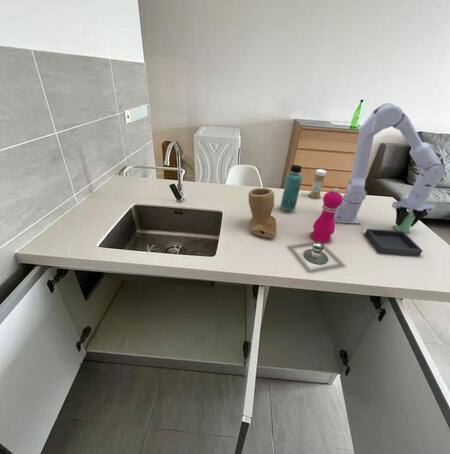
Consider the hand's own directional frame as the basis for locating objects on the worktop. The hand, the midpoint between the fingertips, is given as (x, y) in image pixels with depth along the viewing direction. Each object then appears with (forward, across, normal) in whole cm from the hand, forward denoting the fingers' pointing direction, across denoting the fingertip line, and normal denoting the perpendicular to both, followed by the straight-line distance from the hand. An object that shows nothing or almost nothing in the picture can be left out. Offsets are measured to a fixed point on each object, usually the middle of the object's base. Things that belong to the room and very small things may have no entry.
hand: (403, 224), depth 96 cm
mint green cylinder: (+2, 0, 0) cm, 2 cm away
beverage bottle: (+3, -44, +10) cm, 45 cm away
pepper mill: (+3, -35, -10) cm, 36 cm away
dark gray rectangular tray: (+2, -10, -11) cm, 15 cm away
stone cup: (+3, -57, -6) cm, 57 cm away
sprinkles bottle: (+3, -28, +26) cm, 38 cm away
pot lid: (+3, -40, -21) cm, 45 cm away
